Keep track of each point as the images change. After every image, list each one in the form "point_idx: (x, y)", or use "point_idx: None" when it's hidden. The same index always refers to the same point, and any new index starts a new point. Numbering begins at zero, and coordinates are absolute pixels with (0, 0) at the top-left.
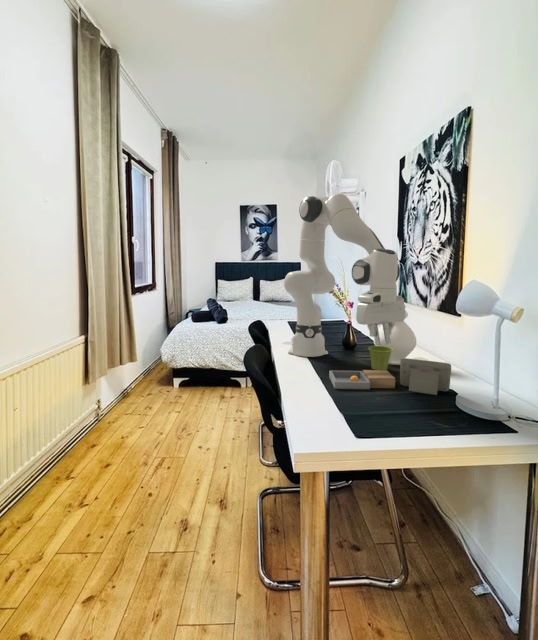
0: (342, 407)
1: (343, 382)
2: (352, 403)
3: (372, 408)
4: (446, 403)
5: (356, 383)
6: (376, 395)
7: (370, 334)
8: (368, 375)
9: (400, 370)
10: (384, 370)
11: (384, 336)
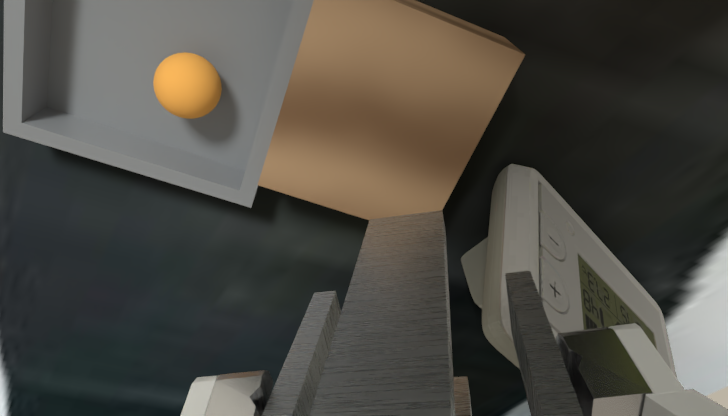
0: (21, 334)
1: (68, 151)
2: (82, 312)
3: (153, 368)
4: (486, 397)
5: (162, 176)
6: (248, 263)
7: (196, 406)
8: (284, 134)
9: (491, 250)
10: (501, 51)
11: (516, 321)
